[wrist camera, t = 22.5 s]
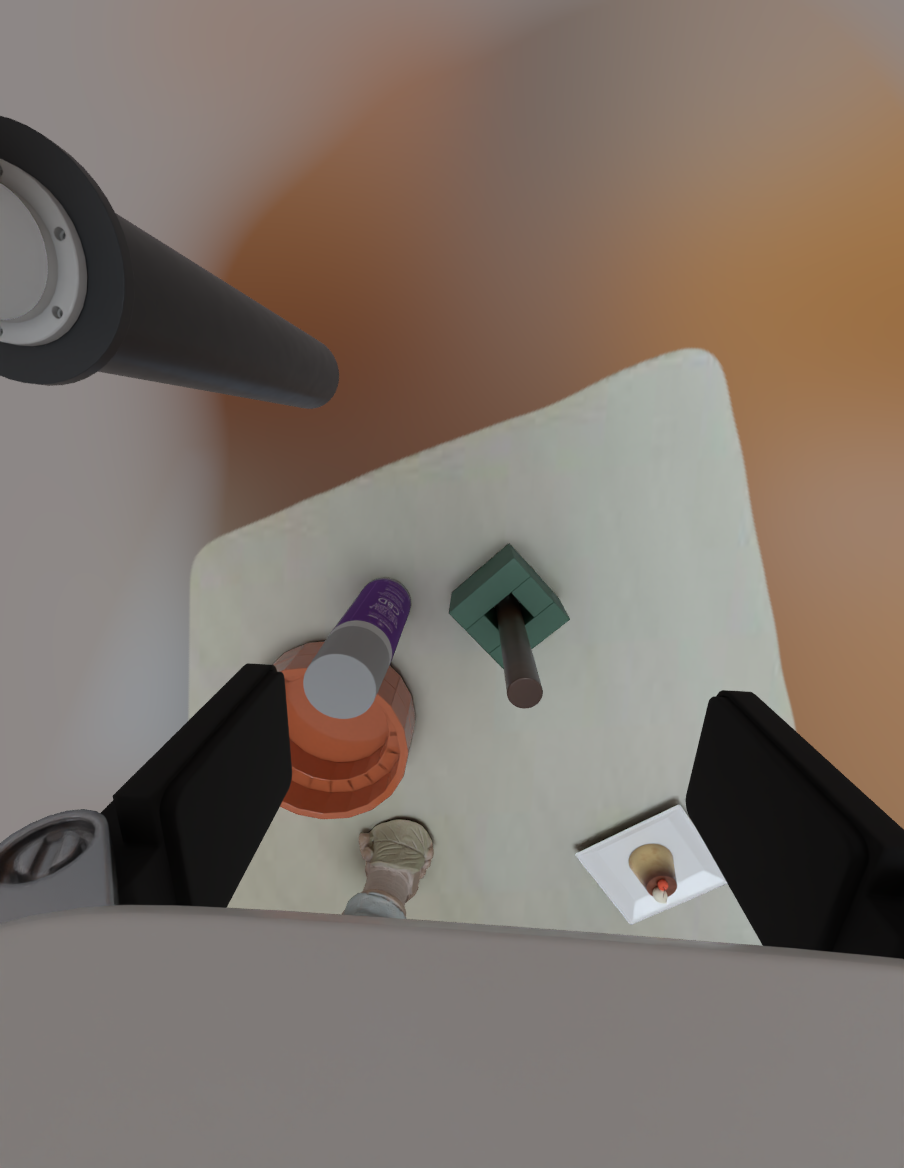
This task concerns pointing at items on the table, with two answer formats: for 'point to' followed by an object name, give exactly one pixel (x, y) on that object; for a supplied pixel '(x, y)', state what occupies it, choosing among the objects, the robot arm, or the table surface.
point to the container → (358, 651)
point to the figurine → (391, 868)
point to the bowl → (344, 745)
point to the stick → (517, 655)
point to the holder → (492, 586)
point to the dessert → (653, 865)
